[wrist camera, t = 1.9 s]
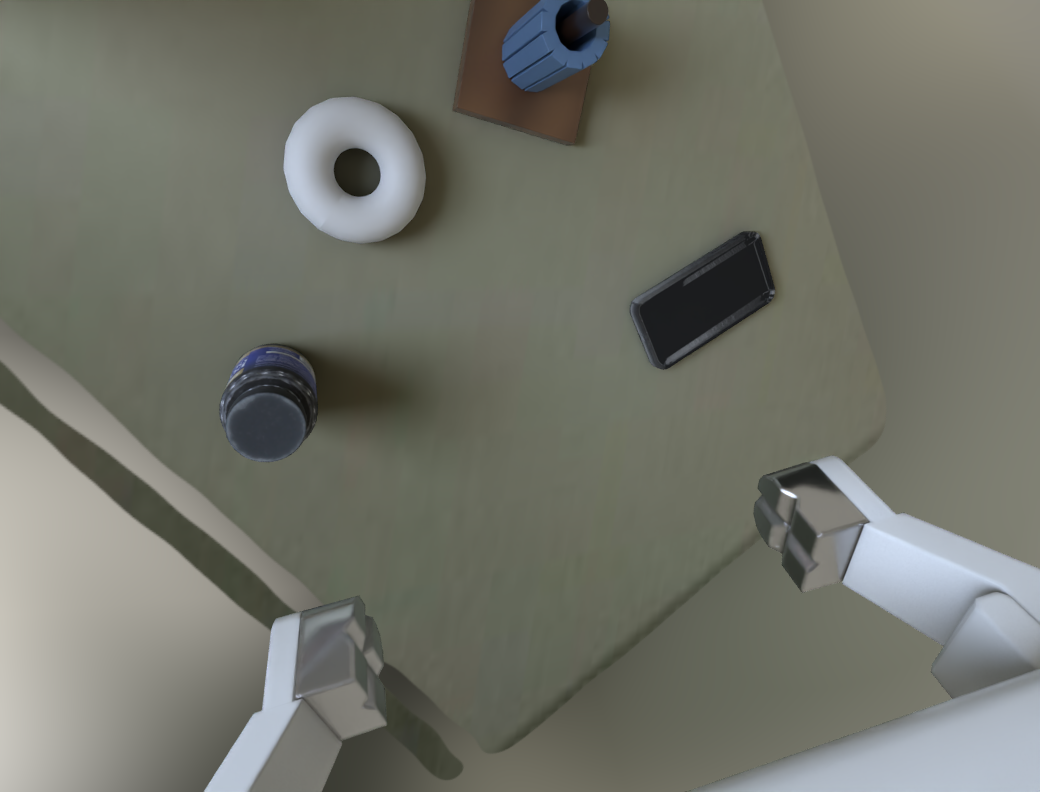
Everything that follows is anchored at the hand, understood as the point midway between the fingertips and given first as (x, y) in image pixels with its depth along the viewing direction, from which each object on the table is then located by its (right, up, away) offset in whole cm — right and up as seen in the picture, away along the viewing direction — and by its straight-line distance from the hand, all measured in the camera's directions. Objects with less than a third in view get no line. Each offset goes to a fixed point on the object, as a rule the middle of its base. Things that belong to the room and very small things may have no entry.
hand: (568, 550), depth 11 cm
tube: (0, +29, +32) cm, 43 cm away
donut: (-13, +20, +32) cm, 40 cm away
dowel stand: (-1, +29, +34) cm, 45 cm away
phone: (+17, +13, +45) cm, 50 cm away
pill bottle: (-20, +4, +34) cm, 40 cm away
